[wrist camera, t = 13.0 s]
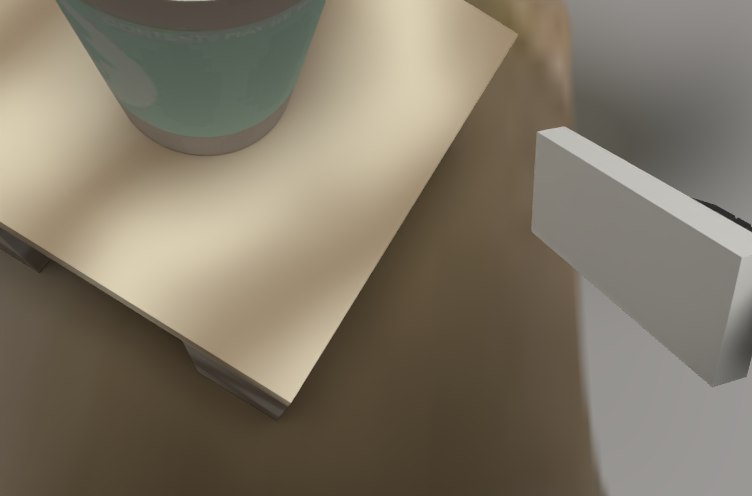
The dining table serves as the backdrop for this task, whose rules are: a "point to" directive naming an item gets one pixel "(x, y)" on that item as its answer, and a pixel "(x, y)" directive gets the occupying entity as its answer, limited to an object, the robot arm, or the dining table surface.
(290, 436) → the dining table surface
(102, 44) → the coffee cup
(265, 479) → the dining table surface
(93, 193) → the shelf
